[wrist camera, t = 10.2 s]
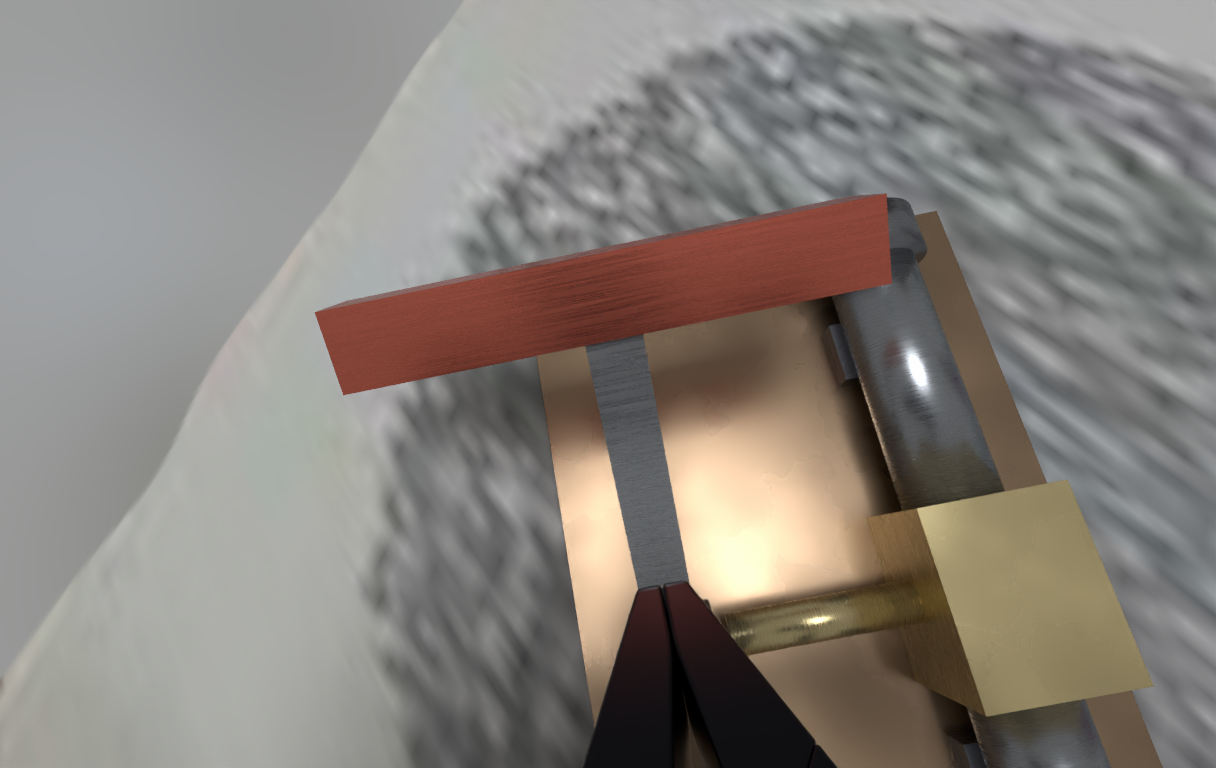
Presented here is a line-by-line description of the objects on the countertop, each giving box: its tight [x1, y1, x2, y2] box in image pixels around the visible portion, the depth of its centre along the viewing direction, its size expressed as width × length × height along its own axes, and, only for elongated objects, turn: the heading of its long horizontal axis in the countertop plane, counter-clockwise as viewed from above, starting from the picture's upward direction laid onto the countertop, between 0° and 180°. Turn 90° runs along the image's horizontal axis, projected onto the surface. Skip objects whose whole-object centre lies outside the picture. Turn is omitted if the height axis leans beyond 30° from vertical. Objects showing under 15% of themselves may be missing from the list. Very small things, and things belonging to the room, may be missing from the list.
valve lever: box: [315, 194, 892, 685], centre depth 16 cm, size 2×13×13 cm
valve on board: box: [537, 198, 1163, 768], centre depth 18 cm, size 22×16×5 cm
